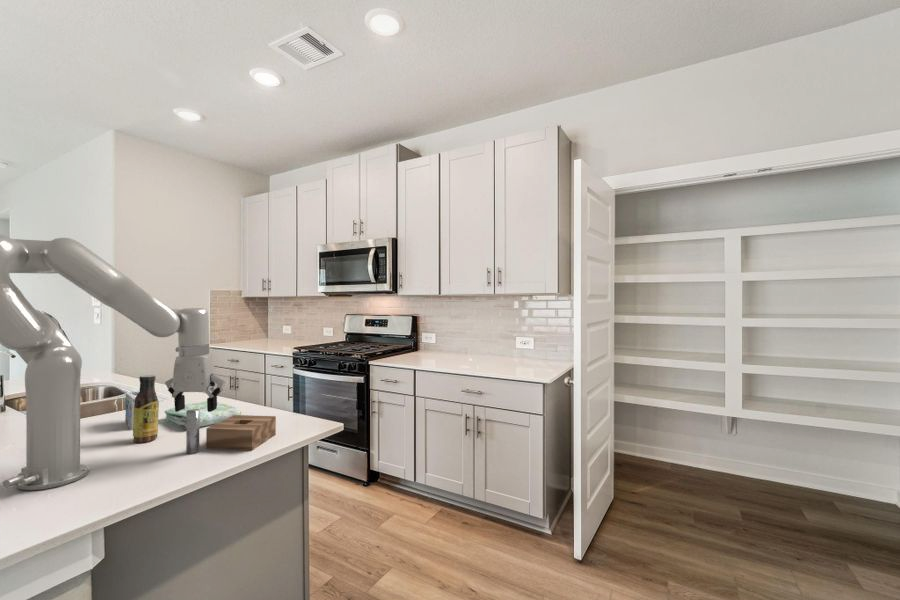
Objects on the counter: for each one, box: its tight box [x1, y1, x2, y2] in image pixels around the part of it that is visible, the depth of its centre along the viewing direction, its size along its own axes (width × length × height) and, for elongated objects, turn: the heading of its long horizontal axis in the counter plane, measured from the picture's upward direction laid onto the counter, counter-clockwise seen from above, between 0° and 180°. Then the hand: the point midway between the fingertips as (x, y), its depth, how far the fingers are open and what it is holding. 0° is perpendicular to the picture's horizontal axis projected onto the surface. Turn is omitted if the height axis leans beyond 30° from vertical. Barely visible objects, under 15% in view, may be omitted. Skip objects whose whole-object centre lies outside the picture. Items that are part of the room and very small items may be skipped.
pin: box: [185, 409, 200, 455], centre depth 120 cm, size 3×3×12 cm
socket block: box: [205, 414, 277, 452], centre depth 129 cm, size 14×14×6 cm
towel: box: [164, 400, 243, 430], centre depth 151 cm, size 18×21×5 cm
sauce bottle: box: [132, 374, 160, 444], centre depth 130 cm, size 6×6×20 cm
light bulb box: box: [124, 390, 140, 431], centre depth 145 cm, size 11×7×11 cm, turn 47°
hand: (196, 410), depth 120 cm, fingers open, 9 cm apart
